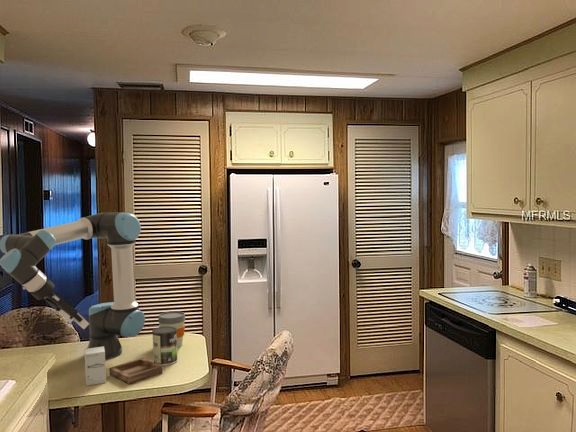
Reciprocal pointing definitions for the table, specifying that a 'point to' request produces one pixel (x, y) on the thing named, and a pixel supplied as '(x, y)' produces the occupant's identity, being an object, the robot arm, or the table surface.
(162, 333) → the coffee can
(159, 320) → the reusable coffee cup
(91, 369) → the supplement box
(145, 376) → the walnut tray
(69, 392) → the table surface
